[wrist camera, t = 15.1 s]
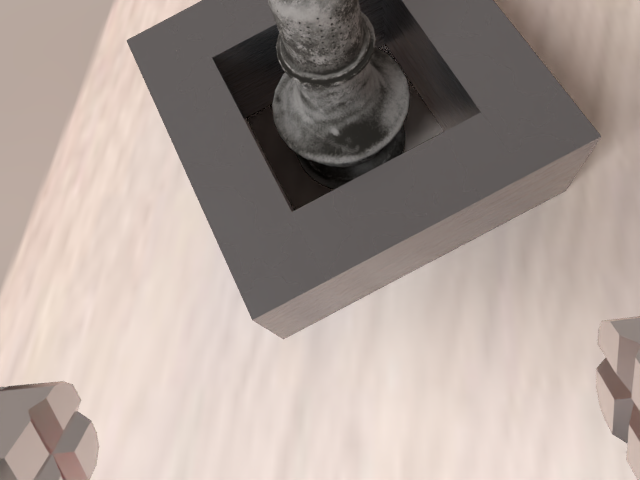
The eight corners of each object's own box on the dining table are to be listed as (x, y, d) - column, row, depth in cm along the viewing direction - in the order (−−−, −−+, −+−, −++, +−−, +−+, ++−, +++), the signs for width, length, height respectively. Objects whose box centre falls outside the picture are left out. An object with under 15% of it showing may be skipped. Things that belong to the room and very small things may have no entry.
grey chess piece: (329, 70, 28) (268, -160, 17) (433, 114, 27) (442, -110, 15) (267, 164, 27) (161, -15, 16) (372, 217, 26) (334, 57, 14)
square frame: (408, -24, 29) (407, -108, 25) (565, 190, 25) (601, 136, 20) (172, 101, 29) (126, 40, 25) (283, 339, 25) (252, 320, 20)
